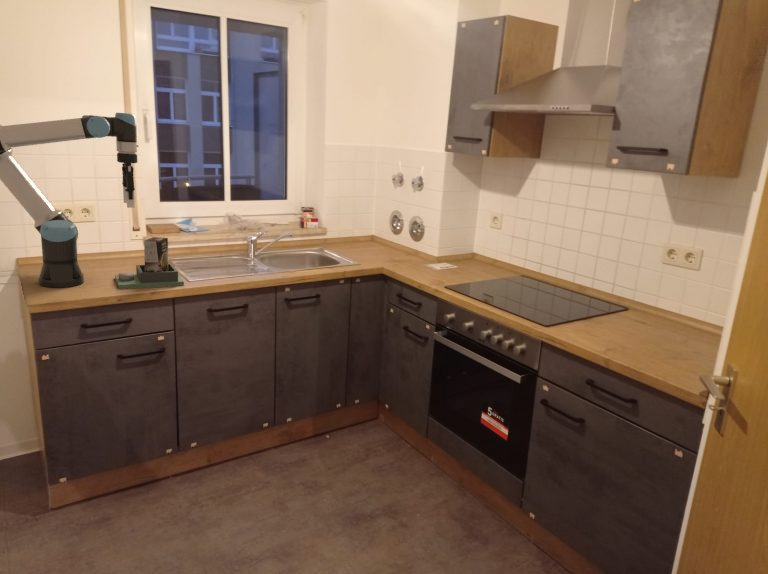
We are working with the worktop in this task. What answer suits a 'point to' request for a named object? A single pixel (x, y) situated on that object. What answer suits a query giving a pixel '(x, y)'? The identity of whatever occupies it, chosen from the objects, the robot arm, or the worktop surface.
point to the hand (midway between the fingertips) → (128, 205)
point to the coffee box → (156, 254)
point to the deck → (149, 278)
